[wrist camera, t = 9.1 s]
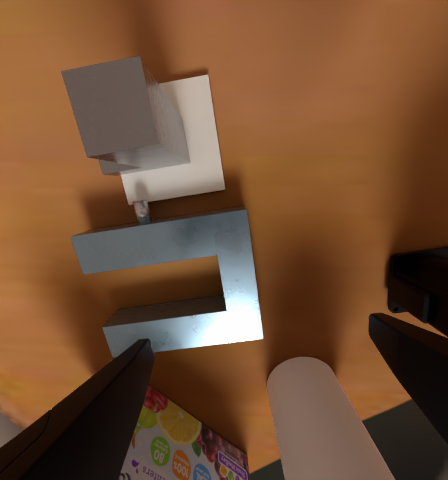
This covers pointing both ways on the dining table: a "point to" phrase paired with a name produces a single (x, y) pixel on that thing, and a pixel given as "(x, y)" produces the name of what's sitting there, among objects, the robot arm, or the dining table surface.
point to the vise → (175, 249)
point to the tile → (199, 147)
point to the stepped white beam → (125, 117)
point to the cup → (319, 426)
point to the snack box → (178, 447)
